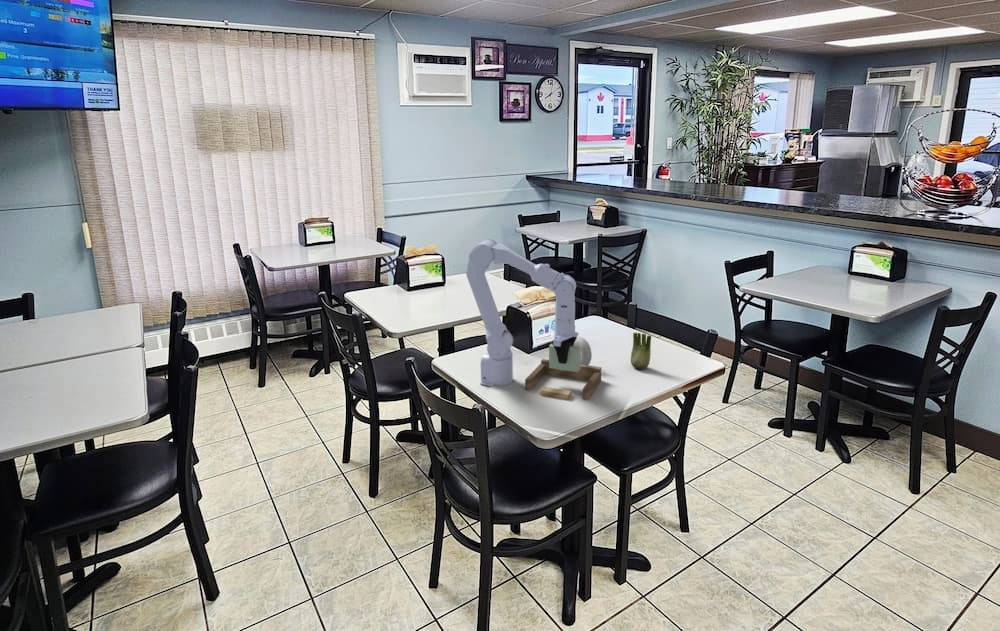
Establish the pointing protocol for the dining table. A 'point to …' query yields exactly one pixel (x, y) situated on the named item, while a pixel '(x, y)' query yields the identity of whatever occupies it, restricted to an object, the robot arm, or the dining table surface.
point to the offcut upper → (556, 392)
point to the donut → (584, 350)
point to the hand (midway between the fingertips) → (564, 361)
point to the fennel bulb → (641, 351)
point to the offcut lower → (555, 397)
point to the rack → (584, 374)
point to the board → (572, 359)
